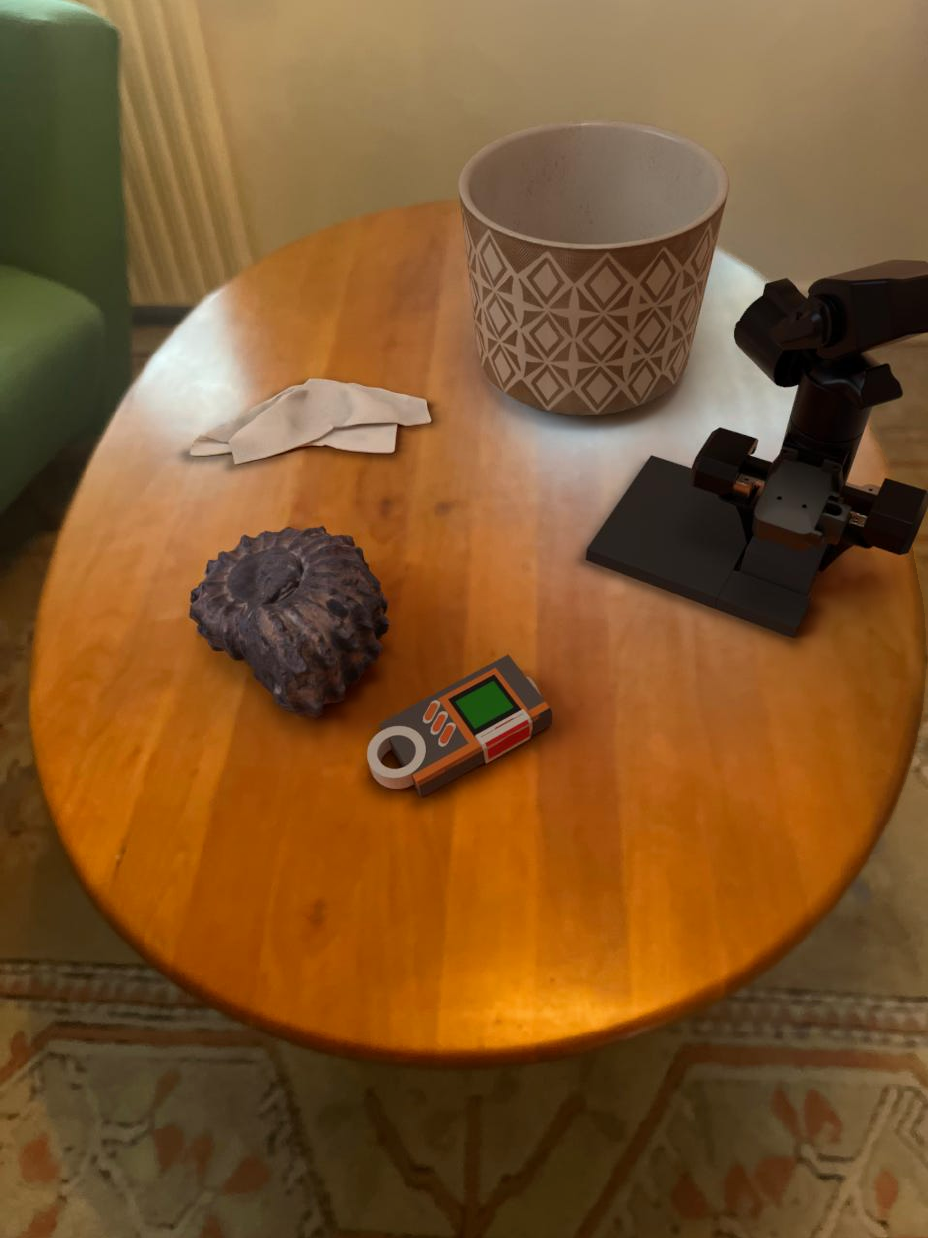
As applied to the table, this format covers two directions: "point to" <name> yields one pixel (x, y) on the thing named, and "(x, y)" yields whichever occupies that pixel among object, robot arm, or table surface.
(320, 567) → the seashell
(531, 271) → the planter
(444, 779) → the electronic device
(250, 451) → the cloth
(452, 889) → the table surface
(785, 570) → the dark grey square block
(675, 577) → the flat black pad
